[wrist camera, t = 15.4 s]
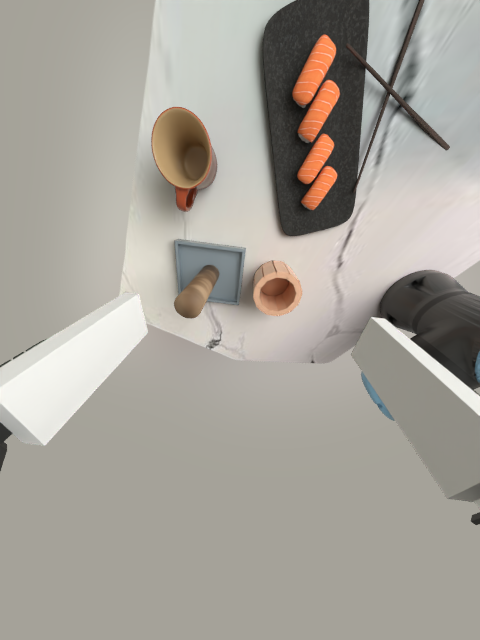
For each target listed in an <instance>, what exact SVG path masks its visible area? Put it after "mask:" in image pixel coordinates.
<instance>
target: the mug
mask: <svg viewBox="0 0 480 640" xmlns="http://www.w3.org/2000/svg"><path fill="white" fill-rule="evenodd" d="M151 142H152V152H153V156H154V160H155V162H156V165H157V167H158V169H159V171H160V172H161V174H162V175H163V176H164V178H165V179H166V180H167V181H168V182H169V183H170V184H172V185H174V186H175V191H176V203H177V207H178V209H179V210H181V211H184V212H188V211H190V209H191V208H192V206H193V203H194V200H195V197H196V195H197V191H198V189H204V188H206V187H208V186H209V185H210V184H211V183H212V182H213V181H214V179H215V176H216V172H217V160H216V155H215V152H214V150H213V148H212V146H211V143H210V139H209V136H208V133H207V131H206V129H205V127H204V125H203V123H202V122H201V121H200V119H199V118H198V117H197V116H196V115H195V114H194V113H192V112H191V111H189V110H187V109H185V108H182V107H172V108H169V109H167V110H165V111H164V112H162V113H161V114H160V116H159V117H158V118H157V120H156V122H155V124H154V127H153V131H152V141H151Z"/></svg>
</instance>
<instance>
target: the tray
mask: <svg viewBox="0 0 480 640" xmlns="http://www.w3.org/2000/svg"><path fill="white" fill-rule="evenodd" d="M245 251H246V248H242V247H235V246H227V245H219V244H212V243H204V242H197V241H189V240H181V239H177V240H175V253H176V266H177V279H178V292H179V294H180V293H181V292H182V291H183V290H184V289H185V287H186V286H187V285H188V284H189V283H190V282H191V281H192V280H193V279H194V277H195V276H196V275H197V274H198V273H199V272H200V271H201V270H202V268H203V267H204V266H206V265H213V266H215V267H216V268H217V269H218V271H219V278H218V280H217V282H216V284H215V286H214V288H213V290H212V292H211V293H210V295H209V297H208V299H207V301H211V302H218V303H226V304H233V305H239V300H240V292H241V284H242V276H243V267H244V259H245Z"/></svg>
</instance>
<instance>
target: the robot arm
mask: <svg viewBox="0 0 480 640" xmlns="http://www.w3.org/2000/svg"><path fill="white" fill-rule="evenodd" d="M380 312H381V315H382V317H383V318H375V317H370V319H369V321H368V323H367V325H366V327H365V329H364V331H363V333H362V334H361V336H360V338H359V340H358V342H357V344H356V346H355V348H354V349H353V351H352V353H351V356H352V357H353V358H354V360H355V361H356V363H357V364H358V366H359V367H360V369H361V370H362V373H361V376H362V380H363V383H364V386H365V388H366V390H367V392H368V393H369V395H370V397H371V398H372V400H373V401H374V403H375V404H377V405H378V407H379V409H380V410H381V411H382V413H383V414H384V415H385V416H387V417H388V418H389V419H391V420H393V421H396V423H397V424H398V426H399V427H400V429H401V430H402V432H403V433H404V435H405V436H406V438H407V439H408V441H409V442H410V444H411V445H412V447H413V448H414V450H415V451H416V453H417V454H418V456H419V457H420V459H421V460H422V462H423V463H424V464H425V466H426V468H427V469H428V470H429V472H430V474H431V475H432V477H433V478H434V480H435V481H436V483H437V484H438V486H439V487H440V489H441V490H442V491H443V493H444V495H445V496H446V498H447V499H455V500H462V501H469V502H473V501H474V503H475V504H476V505H477V506H478V508H479V509H480V395H479V394H478V393H477V392H476V391H474V389H476V388H478V387H480V296H477V295H475V294H472V293H469V292H468V291H467V290H465V289H464V288H463V287H462V286H461V285H460V284H459V283H458V282H457V281H456V280H455V279H454V278H453V277H451V276H450V275H448V274H445V273H442V272H439V271H435V270H424V271H419V272H415V273H412V274H410V275H408V276H406V277H404V278H402V279H400V280H399V281H398V282H396V283H395V284H394V285H393V286H392V287H391V288H390V289H389V290H388V291H387V292H386V294H385V295H384V297H383V299H382V301H381V305H380ZM396 327H397V328H401V329H403V330H407V331H410V332H412V333H415V334H417V335H416V336H414V337H412V338H411V339H409V338H408V337H407V336H405V335H404V334H403V333H402V332H401V331H399V330H398V329H397V328H396ZM147 333H148V330H147V326H146V322H145V317H144V313H143V309H142V305H141V301H140V296H139V293H131V292H125V293H123V294H122V295H120V296H118V297H117V298H115V299H113V300H112V301H110V302H108V303H107V304H105V305H103V306H102V307H100V308H98V309H97V310H95V311H93V312H92V313H90V314H88V315H87V316H85V317H83V318H82V319H80V320H79V321H77V322H75V323H73V324H72V325H70V326H68V327H67V328H65V329H63V330H62V331H60V332H58V333H57V334H55V335H53V336H52V337H50V338H48V339H46V340H43V341H41V342H39V343H38V344H36V345H34V346H32V347H31V348H29V349H27V350H26V352H22V353H21V354H19V355H17V356H15V357H14V358H13V360H9V361H7V362H5V363H4V364H2V365H0V471H1V467H2V464H3V461H4V458H5V455H6V452H7V444H6V443H4V441H5V440H6V439H7V438H8V437H9V436H10V435H11V434H13V435H14V436H16V437H17V438H18V439H19V440H20V441H21V442H22V443H27V444H35V445H43V446H45V445H46V444H47V443H48V442H49V441H50V439H51V438H52V437H53V436H54V435H55V434H56V433H57V432H58V431H59V430H60V428H61V427H62V426H63V425H64V424H65V423H66V422H67V421H68V420H69V419H70V418H71V416H72V415H73V414H74V413H75V412H76V411H77V410H78V409H79V408H80V407H81V405H82V404H83V403H84V402H85V401H86V400H87V399H88V398H89V397H90V396H91V394H92V393H93V392H94V391H95V390H96V389H97V388H98V387H99V386H100V384H101V383H102V382H103V381H104V380H105V379H106V378H107V377H108V376H109V375H110V374H111V373H112V371H113V370H114V369H115V368H116V367H117V366H118V365H119V364H120V362H122V360H123V359H124V358H125V357H126V356H127V355H128V354H129V353H130V352H131V351H132V350H133V348H134V347H135V346H136V345H137V344H138V343H139V342H140V341H141V340H142V339H143V337H144V336H145V335H146V334H147ZM471 522H472V523H474V524H475V525H478V524H480V513H477V514H474V515H472V518H471Z"/></svg>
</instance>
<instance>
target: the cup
mask: <svg viewBox="0 0 480 640" xmlns="http://www.w3.org/2000/svg"><path fill="white" fill-rule="evenodd" d="M301 296H302V288H301V285H300V281H299V280H298V278H297V277H296V275H295V274H294V272H293V271H292V269H291V268H290V267H289V266H288V265H286V264H285V263H284V262H281V261H273V262H272V261H270V262H267V263H265V264H262V265H261V266H260V267H259V269H258V270H257V271H256V272H255V275H254V282H253V299H254V301H255V304H256V306H257V308H258V309H259V310H261V311H262V312H264V313H265V314H267V315H273V316H278V315H279V316H281V315H284V314H287V313H289V311H290V312H291V311H292V310H293V309H294V308H295V307H296V306H297V305H298V303H299V302H300V299H301Z"/></svg>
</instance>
